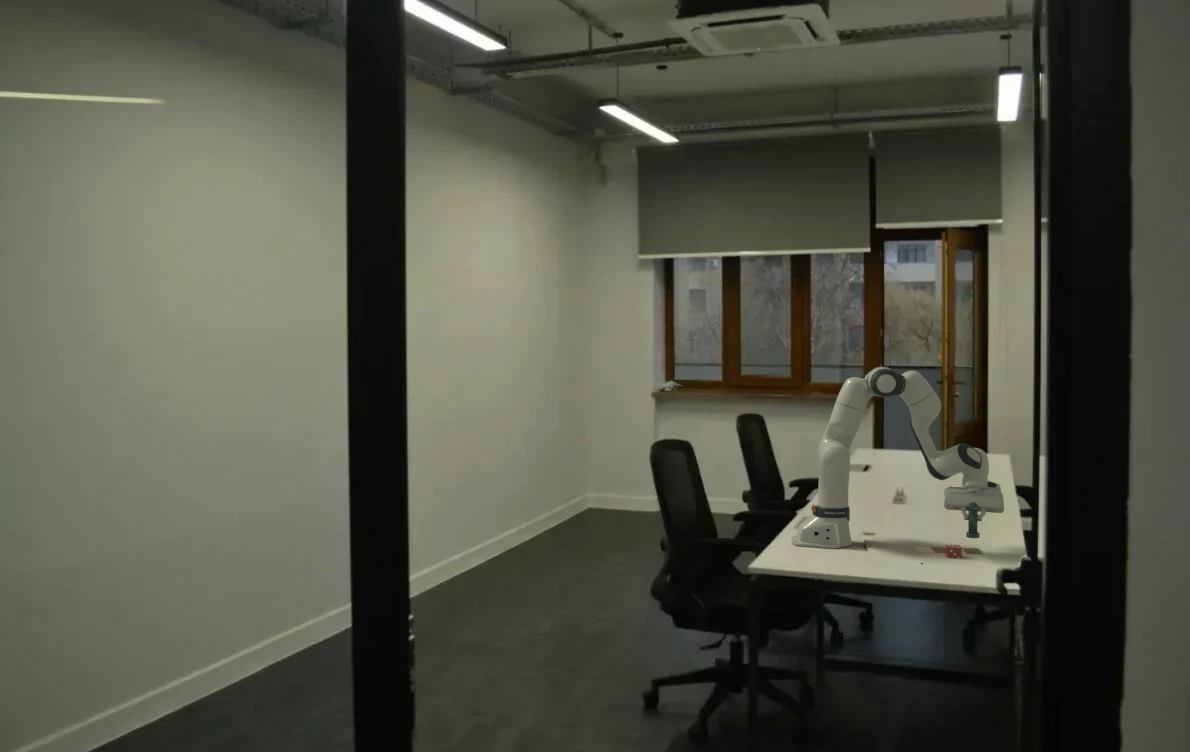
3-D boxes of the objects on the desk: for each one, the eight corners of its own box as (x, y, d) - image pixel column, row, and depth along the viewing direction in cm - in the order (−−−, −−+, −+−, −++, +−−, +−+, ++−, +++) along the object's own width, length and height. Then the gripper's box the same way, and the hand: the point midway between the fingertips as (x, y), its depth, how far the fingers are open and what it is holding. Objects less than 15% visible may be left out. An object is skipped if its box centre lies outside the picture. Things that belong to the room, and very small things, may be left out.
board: (917, 555, 342) (917, 552, 342) (912, 548, 352) (912, 546, 352) (985, 557, 338) (985, 554, 338) (978, 550, 348) (978, 548, 348)
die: (948, 560, 334) (948, 547, 333) (945, 557, 338) (945, 544, 338) (961, 561, 333) (961, 548, 333) (958, 558, 337) (959, 545, 337)
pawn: (967, 538, 341) (967, 503, 341) (965, 535, 346) (965, 501, 345) (980, 538, 341) (981, 503, 340) (977, 535, 345) (978, 501, 344)
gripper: (944, 481, 353) (941, 512, 345) (1004, 484, 344) (1003, 516, 336) (945, 491, 357) (942, 522, 349) (1004, 495, 349) (1003, 526, 340)
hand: (972, 519), depth 342 cm, fingers closed on pawn, 3 cm apart
